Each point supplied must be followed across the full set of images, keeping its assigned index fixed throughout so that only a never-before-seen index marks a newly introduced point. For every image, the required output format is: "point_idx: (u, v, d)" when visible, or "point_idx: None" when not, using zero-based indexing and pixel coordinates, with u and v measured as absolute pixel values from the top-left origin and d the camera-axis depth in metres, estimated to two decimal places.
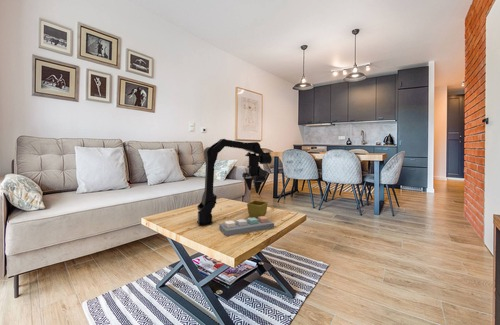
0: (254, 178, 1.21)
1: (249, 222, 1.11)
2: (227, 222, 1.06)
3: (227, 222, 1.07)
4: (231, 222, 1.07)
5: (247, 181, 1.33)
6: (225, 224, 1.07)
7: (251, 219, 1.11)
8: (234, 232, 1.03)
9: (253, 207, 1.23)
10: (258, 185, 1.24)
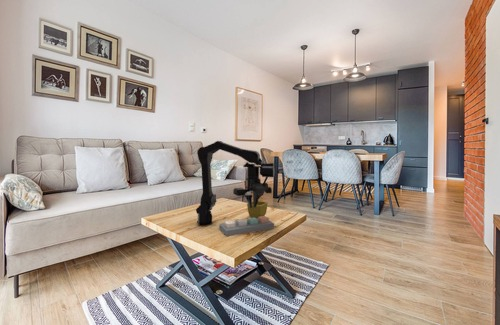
0: None
1: (249, 222, 1.11)
2: (227, 222, 1.06)
3: (227, 222, 1.07)
4: (231, 222, 1.07)
5: (254, 196, 1.13)
6: (225, 224, 1.07)
7: (251, 219, 1.11)
8: (234, 232, 1.03)
9: (253, 207, 1.23)
10: (248, 199, 1.10)
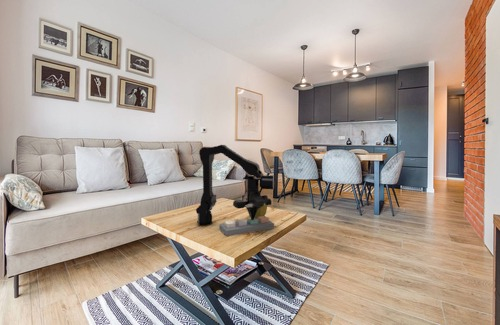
0: None
1: (249, 223, 1.11)
2: (227, 222, 1.06)
3: (227, 222, 1.07)
4: (231, 222, 1.07)
5: None
6: (225, 224, 1.07)
7: (251, 220, 1.11)
8: (234, 232, 1.03)
9: None
10: (250, 211, 1.11)
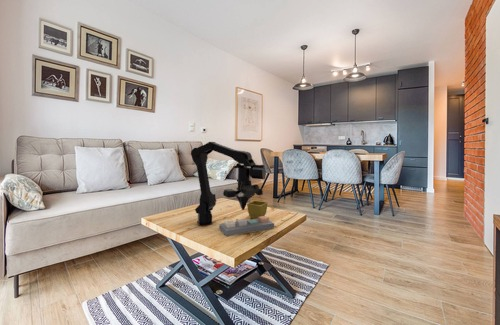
0: None
1: None
2: (227, 222, 1.06)
3: (227, 222, 1.07)
4: (231, 222, 1.07)
5: None
6: (225, 224, 1.07)
7: (251, 221, 1.12)
8: (234, 232, 1.03)
9: (253, 207, 1.23)
10: (240, 201, 1.09)
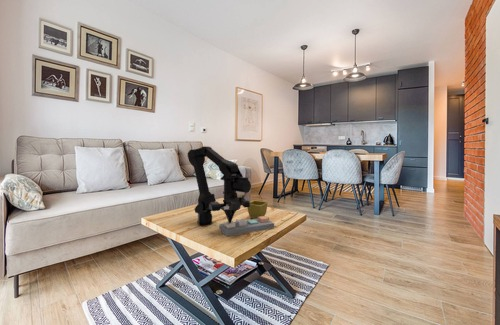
0: None
1: None
2: (227, 223, 1.06)
3: (227, 222, 1.07)
4: (231, 222, 1.07)
5: (229, 211, 1.08)
6: (225, 224, 1.07)
7: (251, 221, 1.12)
8: (234, 232, 1.03)
9: (253, 207, 1.23)
10: (227, 214, 1.06)
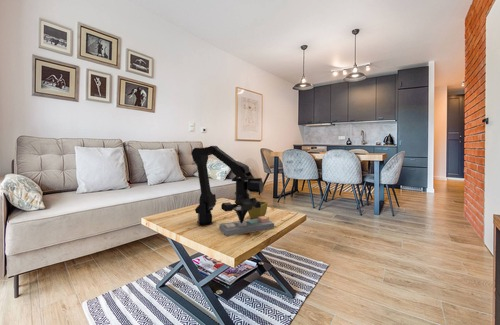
0: None
1: None
2: (227, 225, 1.06)
3: (227, 224, 1.07)
4: (231, 225, 1.07)
5: None
6: None
7: (251, 221, 1.12)
8: (234, 232, 1.03)
9: (253, 207, 1.23)
10: (238, 214, 1.09)
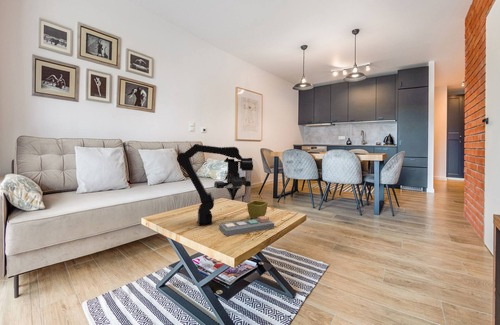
0: None
1: None
2: (227, 225, 1.06)
3: (227, 224, 1.07)
4: (231, 225, 1.07)
5: (232, 189, 1.21)
6: None
7: (251, 221, 1.12)
8: (234, 232, 1.03)
9: (253, 207, 1.23)
10: (230, 192, 1.18)
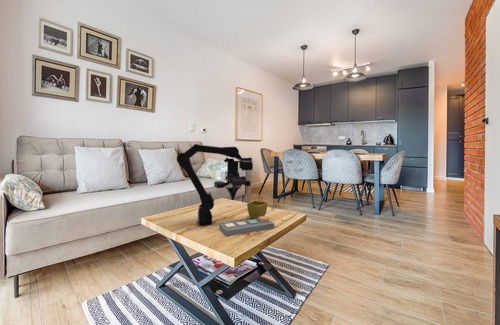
0: None
1: None
2: (227, 225, 1.06)
3: (227, 224, 1.07)
4: (231, 225, 1.07)
5: (232, 189, 1.21)
6: None
7: (251, 221, 1.12)
8: (234, 232, 1.03)
9: (253, 207, 1.23)
10: (230, 191, 1.19)
